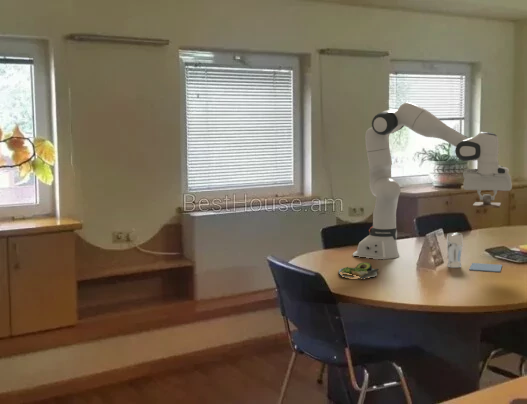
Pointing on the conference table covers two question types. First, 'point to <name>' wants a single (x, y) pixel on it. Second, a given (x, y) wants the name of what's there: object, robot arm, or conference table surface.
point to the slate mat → (485, 267)
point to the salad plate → (360, 271)
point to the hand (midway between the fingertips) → (487, 200)
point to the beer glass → (454, 249)
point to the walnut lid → (487, 203)
